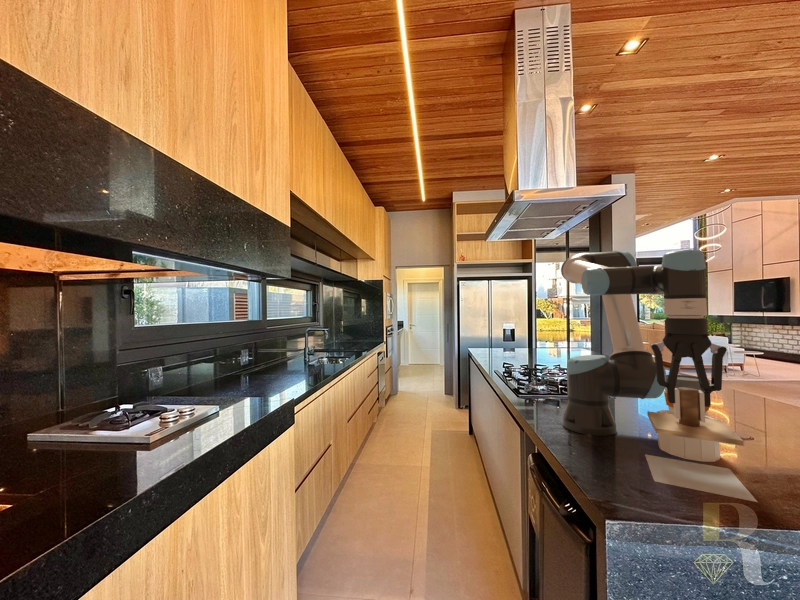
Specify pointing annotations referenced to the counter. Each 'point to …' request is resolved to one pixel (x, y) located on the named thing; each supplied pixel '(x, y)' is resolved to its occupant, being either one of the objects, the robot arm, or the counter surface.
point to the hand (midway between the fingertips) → (689, 418)
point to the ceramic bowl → (689, 446)
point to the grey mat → (697, 477)
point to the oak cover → (692, 422)
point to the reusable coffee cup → (687, 383)
